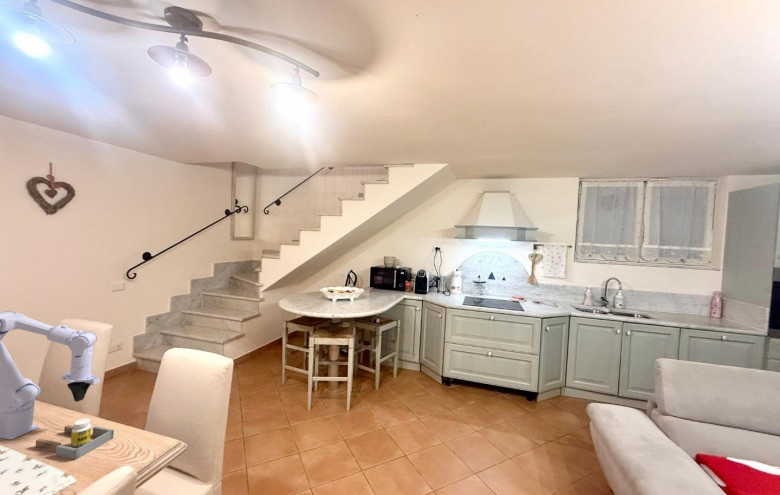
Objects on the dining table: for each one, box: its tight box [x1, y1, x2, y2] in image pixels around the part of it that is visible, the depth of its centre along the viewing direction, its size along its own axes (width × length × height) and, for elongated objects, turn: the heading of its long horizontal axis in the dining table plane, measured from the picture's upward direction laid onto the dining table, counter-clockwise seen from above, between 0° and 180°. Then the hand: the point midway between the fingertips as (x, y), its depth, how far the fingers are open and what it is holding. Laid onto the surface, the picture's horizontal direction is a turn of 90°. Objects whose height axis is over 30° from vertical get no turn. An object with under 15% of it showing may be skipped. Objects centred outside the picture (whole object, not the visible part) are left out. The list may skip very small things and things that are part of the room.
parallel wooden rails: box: [35, 424, 74, 453], centre depth 107 cm, size 9×9×2 cm
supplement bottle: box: [70, 417, 92, 449], centre depth 106 cm, size 5×5×8 cm
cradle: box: [55, 425, 115, 461], centre depth 105 cm, size 8×12×3 cm
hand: (79, 400), depth 116 cm, fingers closed
